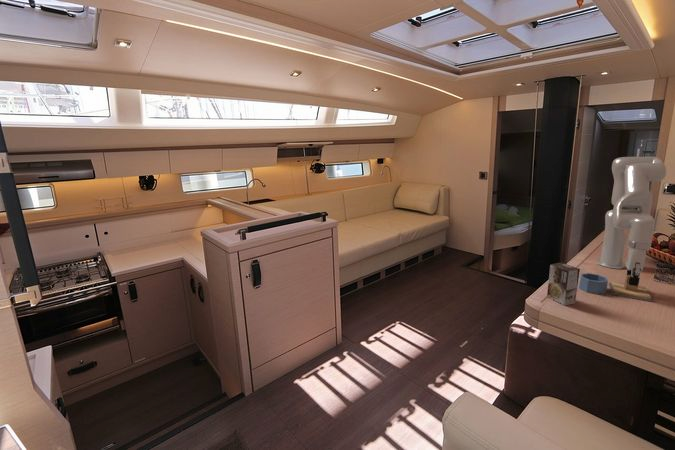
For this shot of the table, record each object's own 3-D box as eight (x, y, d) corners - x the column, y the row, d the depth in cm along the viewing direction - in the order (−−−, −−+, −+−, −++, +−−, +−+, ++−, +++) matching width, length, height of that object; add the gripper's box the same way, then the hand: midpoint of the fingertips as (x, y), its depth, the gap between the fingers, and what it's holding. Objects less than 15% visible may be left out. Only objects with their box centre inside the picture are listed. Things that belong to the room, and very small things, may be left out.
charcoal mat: (608, 283, 159) (609, 282, 159) (647, 290, 151) (647, 289, 151) (611, 294, 148) (611, 293, 148) (653, 302, 140) (653, 301, 140)
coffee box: (575, 303, 141) (581, 268, 138) (564, 306, 140) (569, 271, 136) (556, 294, 150) (561, 261, 146) (545, 296, 148) (550, 263, 144)
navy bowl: (578, 283, 161) (580, 271, 159) (604, 287, 155) (606, 275, 154) (579, 290, 153) (580, 279, 151) (606, 295, 147) (608, 283, 146)
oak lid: (611, 284, 157) (614, 270, 156) (645, 289, 151) (648, 274, 149) (614, 293, 148) (617, 278, 146) (650, 299, 141) (653, 284, 139)
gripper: (625, 239, 153) (618, 274, 157) (630, 249, 139) (623, 287, 143) (646, 241, 149) (639, 277, 153) (654, 251, 135) (646, 291, 139)
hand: (631, 281), depth 148 cm, fingers open, 7 cm apart
